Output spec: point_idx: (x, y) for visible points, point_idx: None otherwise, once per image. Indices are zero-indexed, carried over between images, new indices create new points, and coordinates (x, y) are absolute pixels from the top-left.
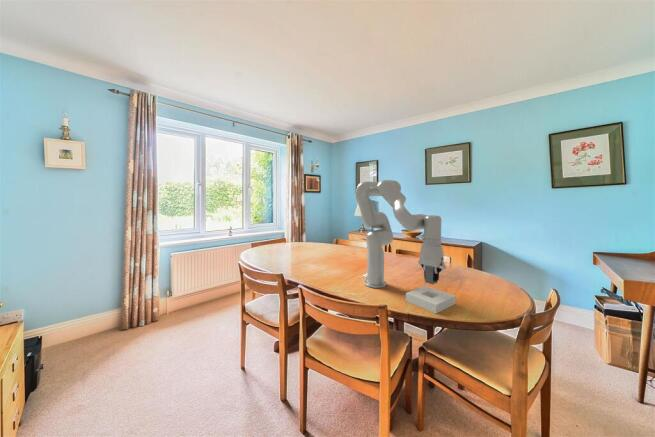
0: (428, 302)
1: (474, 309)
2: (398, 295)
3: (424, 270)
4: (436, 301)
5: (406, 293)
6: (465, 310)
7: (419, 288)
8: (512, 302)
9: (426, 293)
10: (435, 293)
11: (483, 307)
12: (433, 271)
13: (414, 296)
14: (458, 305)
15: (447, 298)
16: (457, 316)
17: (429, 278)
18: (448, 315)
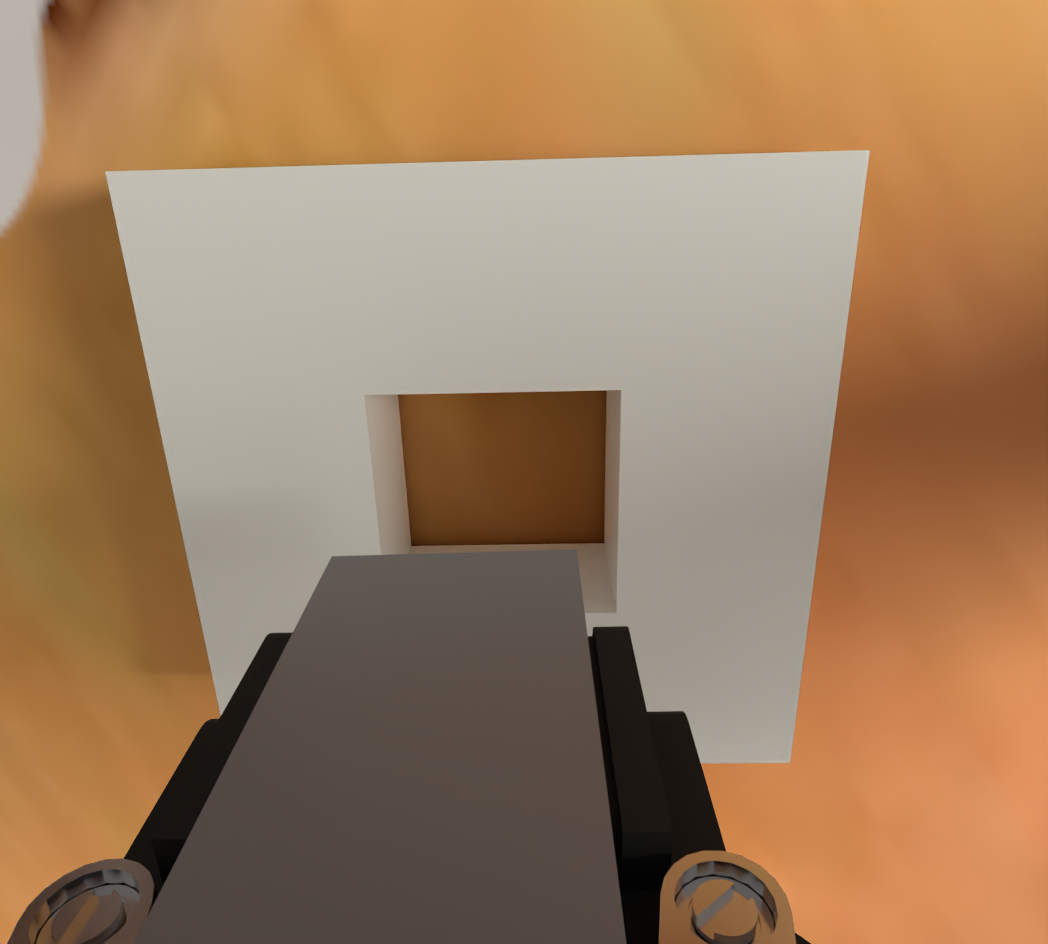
0: (285, 168)
1: (71, 728)
2: (1042, 266)
3: (691, 856)
4: (217, 320)
5: (847, 151)
6: (95, 624)
7: (797, 593)
8: None
9: (614, 548)
10: None
11: (68, 843)
12: (174, 908)
13: (628, 157)
14: None
15: (221, 593)
16: (4, 380)
17: (414, 636)
18: (77, 300)
